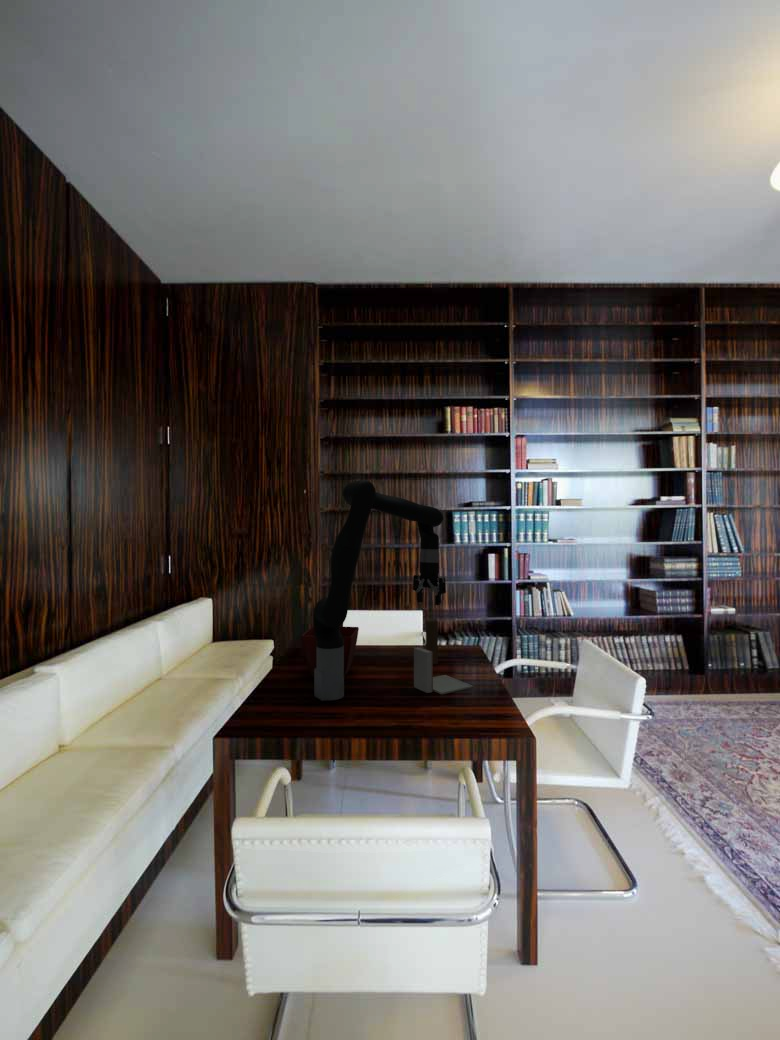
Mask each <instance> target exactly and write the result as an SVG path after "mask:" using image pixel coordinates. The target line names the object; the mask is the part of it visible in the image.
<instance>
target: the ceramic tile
mask: <svg viewBox="0 0 780 1040" xmlns="http://www.w3.org/2000/svg"><path fill="white" fill-rule="evenodd" d="M433 665H434V664H433V652H432V651H429V650H426V649H424V648H423V647H414V648H413V688H415V689H417V690H419V691H421V692H423V693H426V694H429V693H433V692H434V691H433V677H434V676H433V675H434V666H433Z"/></svg>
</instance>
